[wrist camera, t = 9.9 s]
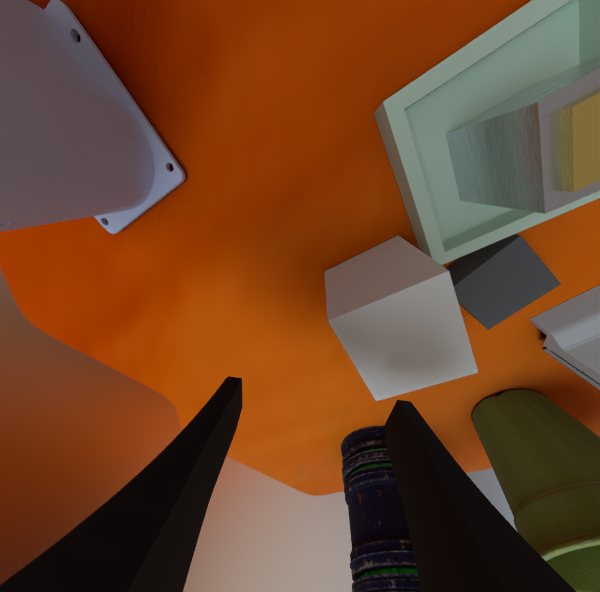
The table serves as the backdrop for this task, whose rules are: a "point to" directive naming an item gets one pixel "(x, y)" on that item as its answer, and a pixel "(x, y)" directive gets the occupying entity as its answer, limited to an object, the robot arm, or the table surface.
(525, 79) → the tray
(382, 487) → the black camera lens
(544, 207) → the block
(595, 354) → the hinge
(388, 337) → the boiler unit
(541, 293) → the square block
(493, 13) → the table surface
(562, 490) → the plant pot
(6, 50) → the robot arm
